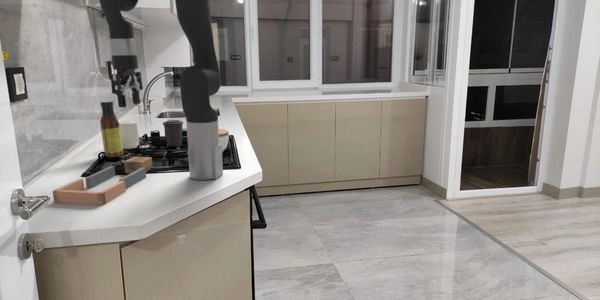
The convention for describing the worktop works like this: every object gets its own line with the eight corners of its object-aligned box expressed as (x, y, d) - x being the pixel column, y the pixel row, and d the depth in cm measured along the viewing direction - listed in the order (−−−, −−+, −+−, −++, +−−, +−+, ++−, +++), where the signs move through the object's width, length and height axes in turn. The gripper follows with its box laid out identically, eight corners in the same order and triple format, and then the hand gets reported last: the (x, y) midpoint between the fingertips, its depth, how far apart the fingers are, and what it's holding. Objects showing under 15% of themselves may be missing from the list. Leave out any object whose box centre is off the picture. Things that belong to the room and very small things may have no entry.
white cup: (133, 149, 161) (130, 124, 158) (114, 148, 162) (112, 123, 160) (144, 145, 168) (142, 120, 166) (126, 144, 170) (124, 119, 168)
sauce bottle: (127, 154, 154) (121, 100, 149) (114, 158, 148) (108, 102, 143) (113, 153, 156) (107, 99, 151) (100, 157, 150) (93, 102, 145)
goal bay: (125, 191, 114) (124, 181, 113) (102, 205, 104) (101, 193, 104) (80, 188, 116) (79, 178, 116) (54, 202, 106) (52, 190, 106)
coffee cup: (186, 146, 166) (184, 121, 164) (164, 147, 164) (162, 122, 161) (184, 142, 174) (182, 118, 171) (163, 143, 171) (161, 119, 169)
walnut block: (152, 169, 136) (151, 157, 135) (142, 174, 130) (141, 162, 129) (135, 168, 137) (134, 156, 136) (125, 173, 131) (124, 161, 130)
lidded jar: (226, 155, 153) (225, 130, 150) (197, 155, 153) (195, 129, 151) (231, 148, 163) (230, 124, 161) (204, 148, 163) (202, 124, 161)
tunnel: (146, 177, 127) (145, 167, 126) (124, 190, 115) (122, 179, 115) (111, 175, 129) (110, 166, 128) (86, 188, 117) (85, 177, 116)
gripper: (122, 54, 124) (129, 108, 128) (146, 53, 138) (151, 102, 141) (99, 54, 125) (106, 108, 129) (125, 54, 139) (130, 102, 143)
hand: (129, 105), depth 135 cm, fingers open, 8 cm apart
